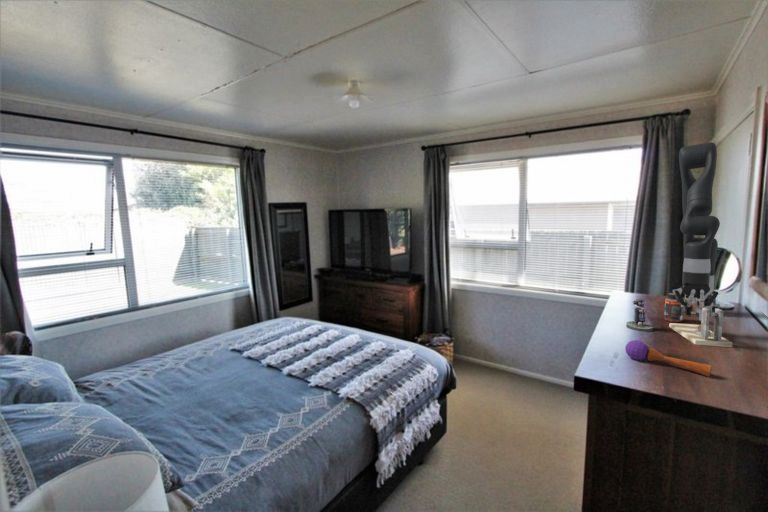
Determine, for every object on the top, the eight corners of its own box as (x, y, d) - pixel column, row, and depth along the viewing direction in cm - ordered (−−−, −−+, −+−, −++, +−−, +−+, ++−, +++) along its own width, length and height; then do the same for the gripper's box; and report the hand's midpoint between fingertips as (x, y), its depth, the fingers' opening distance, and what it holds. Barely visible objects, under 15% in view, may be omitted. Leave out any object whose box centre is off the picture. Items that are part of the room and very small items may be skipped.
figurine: (621, 326, 141) (623, 297, 139) (634, 323, 144) (635, 294, 143) (645, 332, 133) (646, 301, 132) (657, 329, 137) (659, 298, 136)
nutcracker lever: (717, 325, 119) (718, 312, 118) (708, 324, 120) (708, 311, 119) (692, 314, 135) (693, 302, 134) (684, 313, 135) (684, 302, 135)
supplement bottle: (686, 322, 144) (688, 295, 143) (671, 322, 144) (673, 295, 143) (674, 318, 150) (676, 292, 149) (660, 318, 150) (661, 292, 149)
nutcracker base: (669, 326, 139) (671, 296, 138) (700, 328, 136) (702, 298, 135) (695, 344, 120) (697, 310, 119) (732, 347, 117) (735, 311, 116)
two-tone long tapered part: (710, 367, 95) (623, 342, 109) (706, 385, 96) (622, 359, 111) (714, 357, 98) (629, 334, 113) (710, 375, 100) (628, 351, 115)
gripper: (714, 269, 131) (710, 315, 133) (668, 268, 135) (666, 312, 137) (726, 272, 124) (722, 320, 126) (678, 271, 128) (675, 318, 130)
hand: (693, 316), depth 132 cm, fingers closed on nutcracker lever, 2 cm apart
